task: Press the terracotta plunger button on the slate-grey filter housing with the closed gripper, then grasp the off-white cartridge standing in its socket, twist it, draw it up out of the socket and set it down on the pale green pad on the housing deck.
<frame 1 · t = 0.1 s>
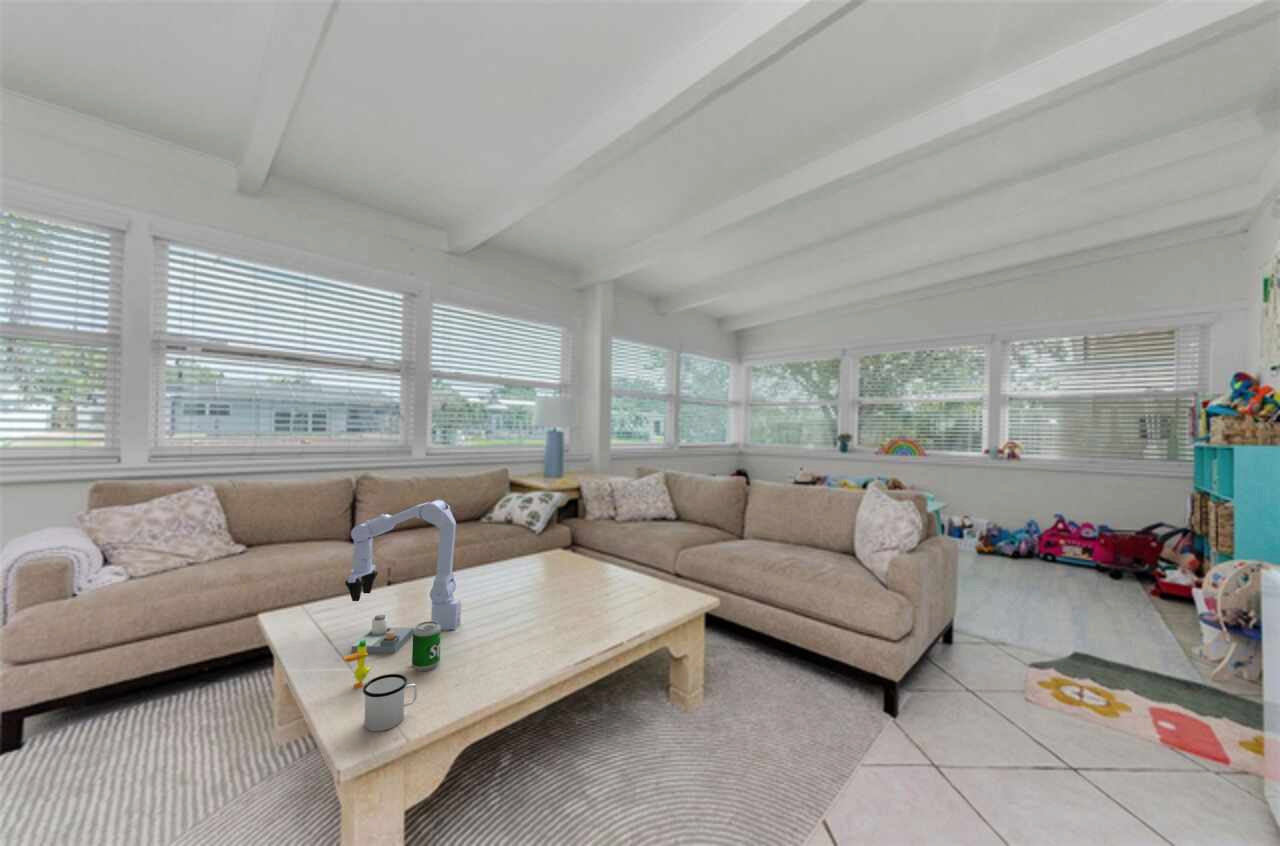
hand: (361, 596, 169), 10 cm above the table, fingers open, 7 cm apart
mug: (389, 720, 117), on the table
toy figure: (357, 687, 130), on the table
soda can: (425, 666, 142), on the table
cartridge: (379, 638, 159), resting on housing
housing: (383, 644, 156), on the table
plunger: (390, 635, 151), point 5 cm above the table, slide at 0.0 cm
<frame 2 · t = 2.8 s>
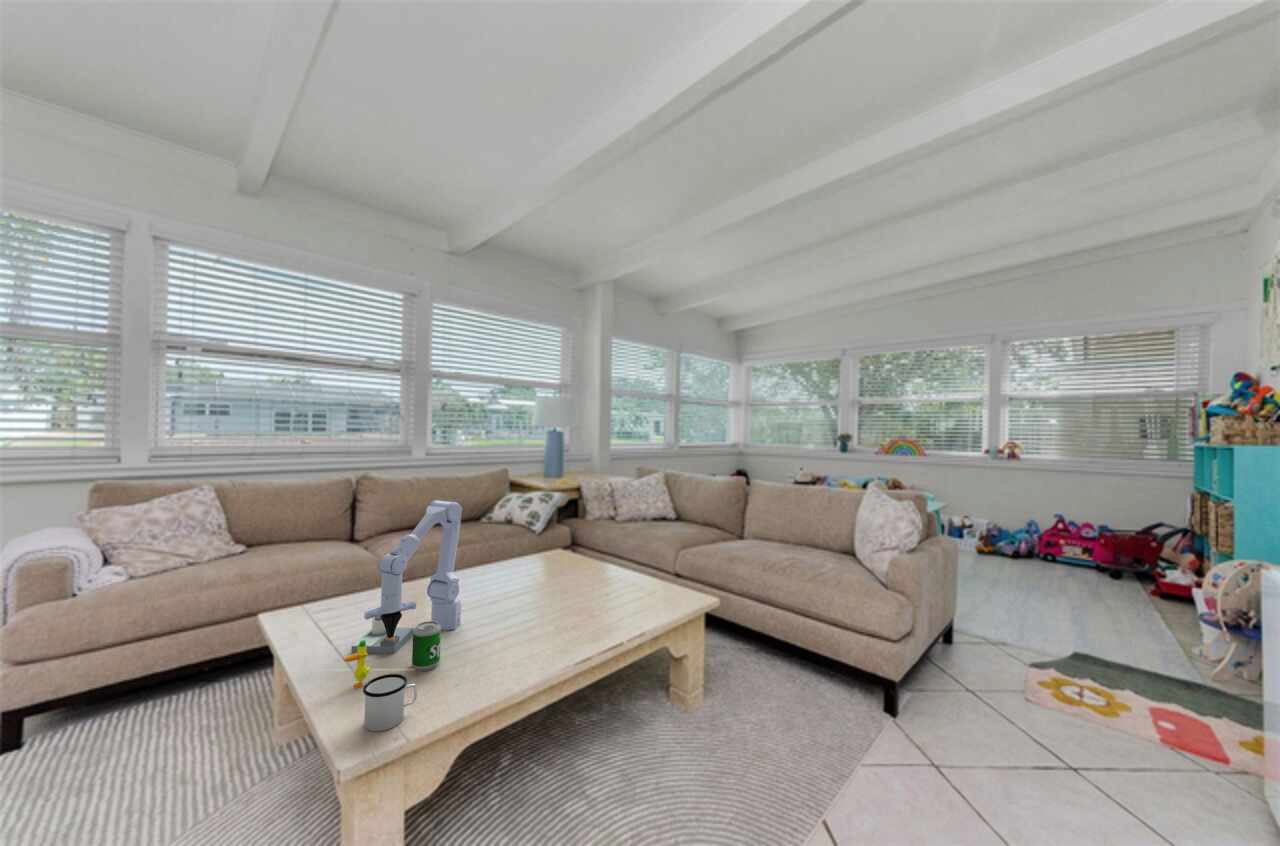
hand: (390, 636, 151), 5 cm above the table, fingers closed, pressing on plunger
plunger: (390, 639, 151), point 4 cm above the table, slide at 1.2 cm, touching gripper
everything else where it was.
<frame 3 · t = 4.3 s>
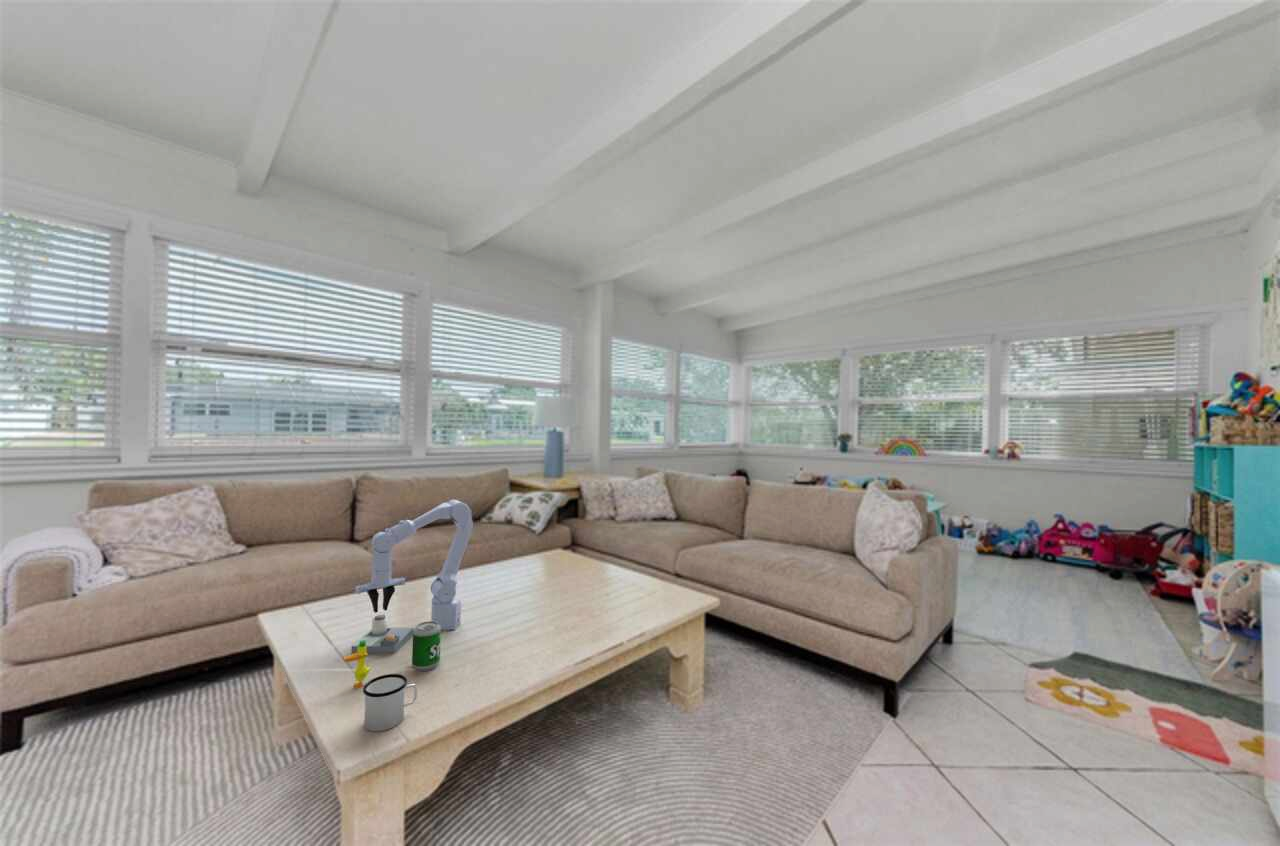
hand: (380, 610, 159), 9 cm above the table, fingers closed
plunger: (390, 639, 151), point 4 cm above the table, slide at 1.2 cm
everything else where it was.
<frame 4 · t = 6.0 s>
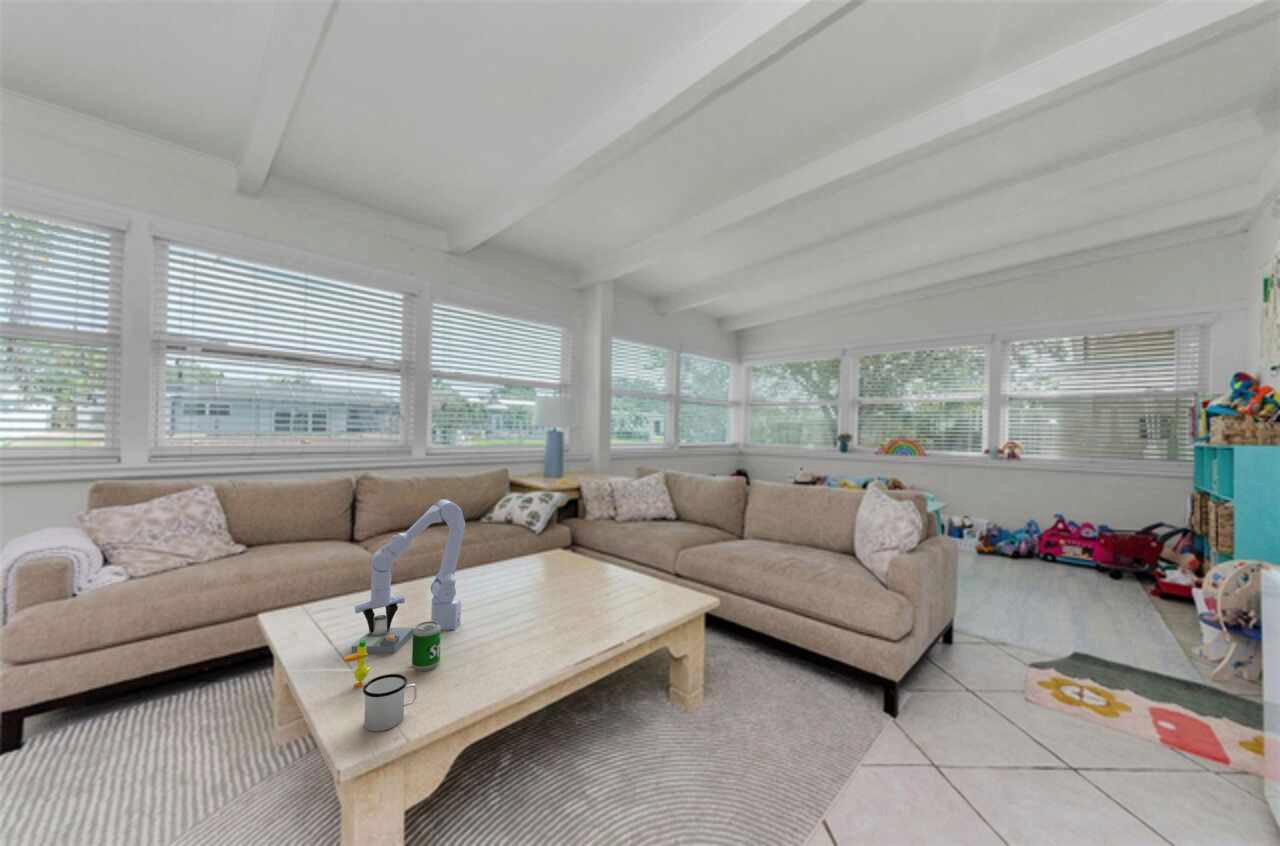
hand: (379, 629, 159), 3 cm above the table, fingers closed on cartridge, 4 cm apart
cartridge: (379, 638, 159), resting on housing, touching gripper
everything else where it was.
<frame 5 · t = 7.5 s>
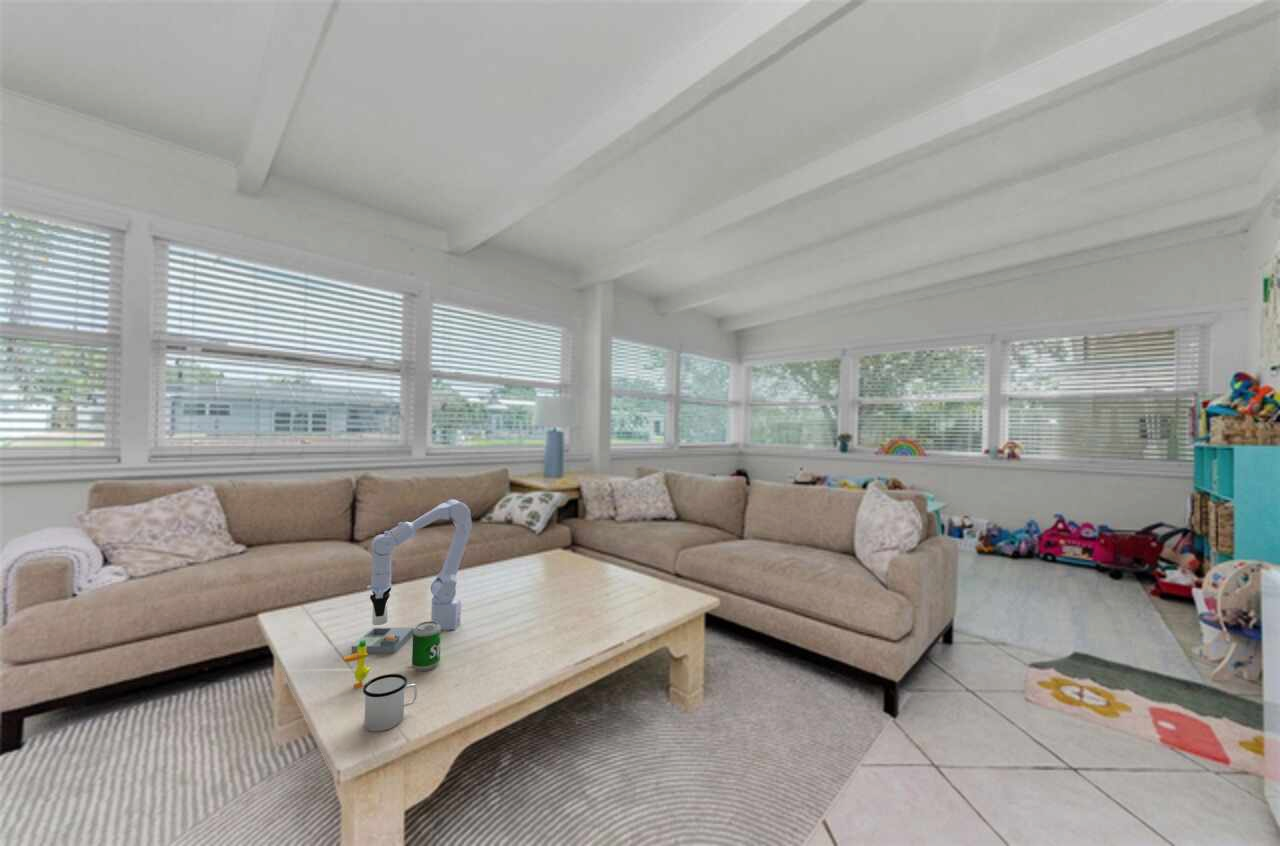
hand: (380, 613, 159), 9 cm above the table, fingers closed on cartridge, 4 cm apart
cartridge: (379, 622, 159), point 6 cm above the table, touching gripper
everything else where it was.
when the fingers open (6 cm above the table, at t = 9.3 s): cartridge stays where it is, resting on housing.
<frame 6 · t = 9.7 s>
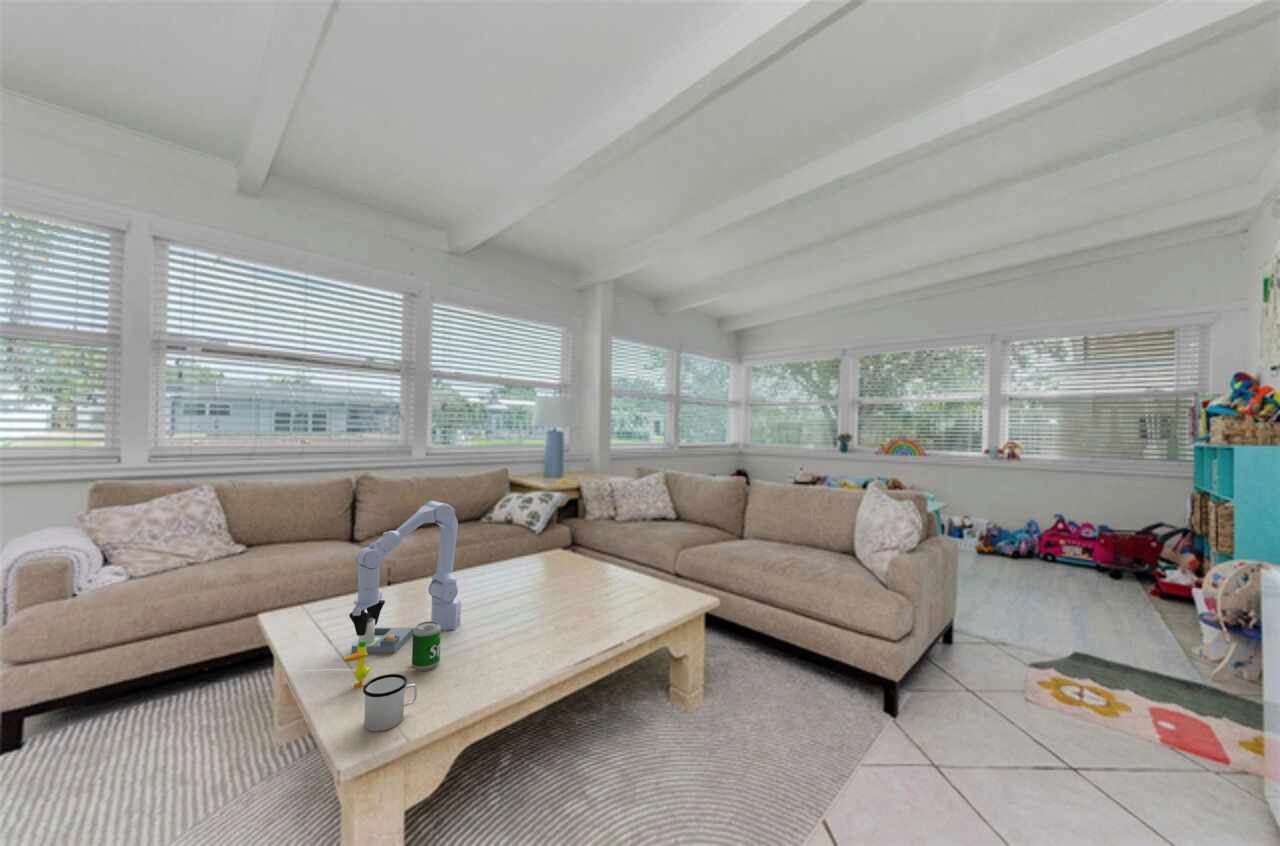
hand: (367, 629, 151), 6 cm above the table, fingers open, 7 cm apart
cartridge: (366, 641, 151), point 3 cm above the table, touching housing
everything else where it was.
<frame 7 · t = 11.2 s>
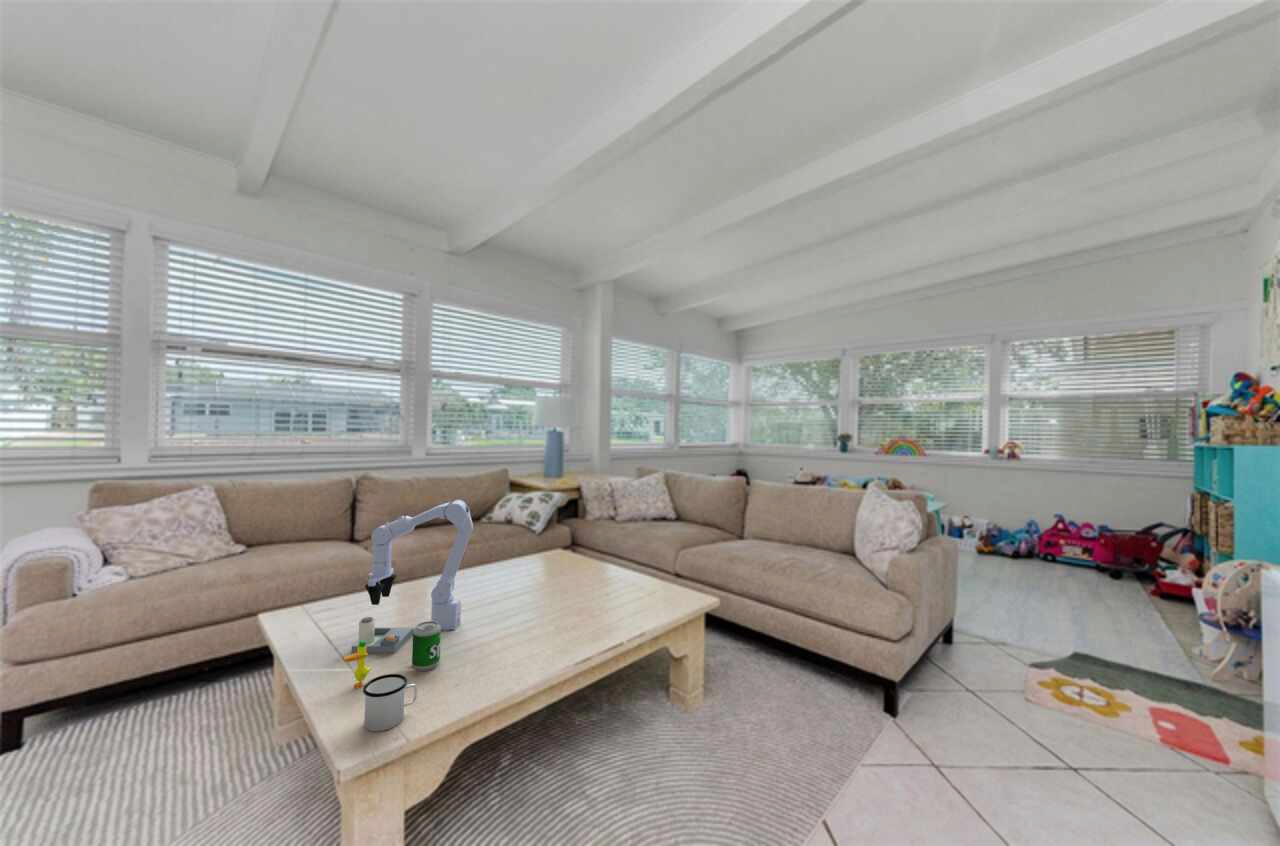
hand: (380, 600, 167), 10 cm above the table, fingers open, 7 cm apart
nothing on the table moved.
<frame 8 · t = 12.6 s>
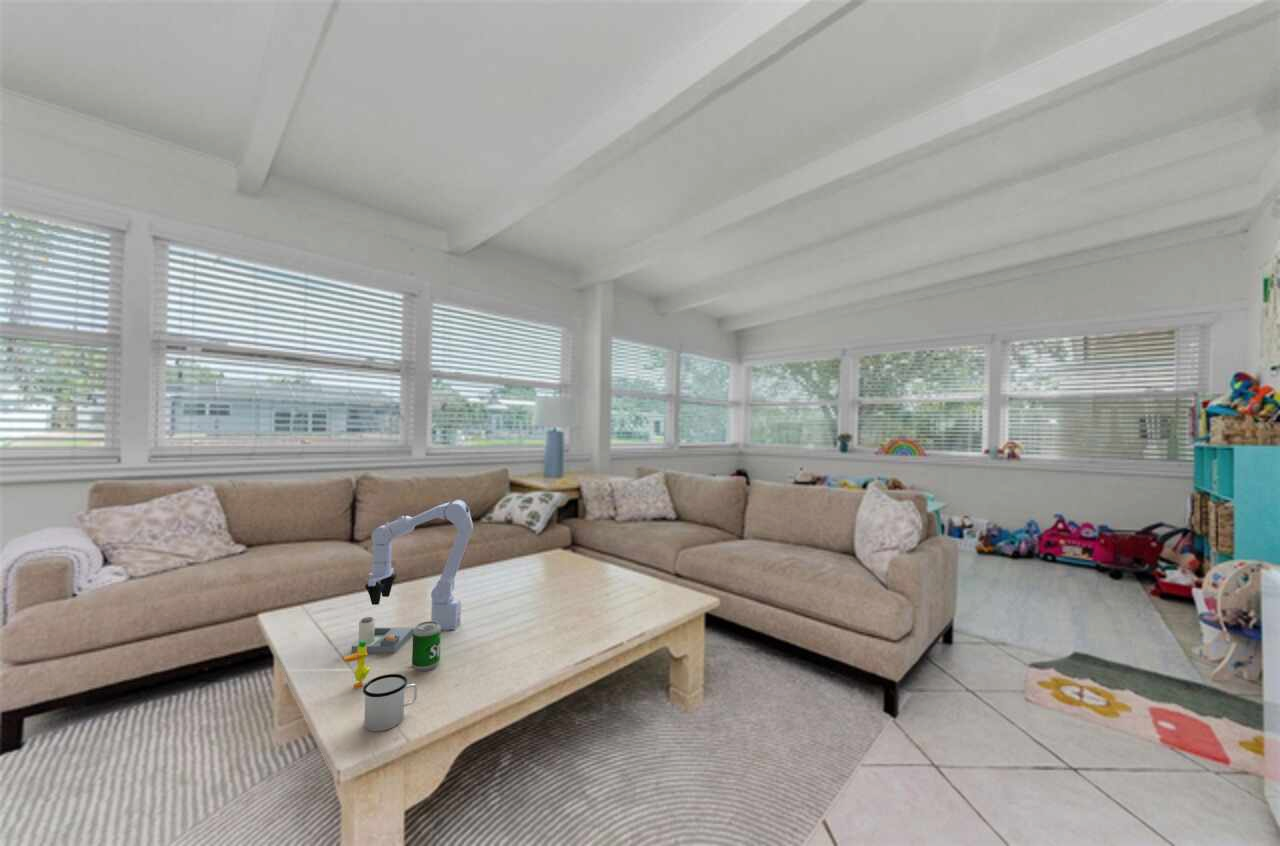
hand: (380, 600, 167), 10 cm above the table, fingers open, 7 cm apart
nothing on the table moved.
at the end: plunger slide at 1.2 cm; cartridge inside the target area (0.0 cm from its centre), point 2.6 cm above the table; cartridge tilted 0° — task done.
